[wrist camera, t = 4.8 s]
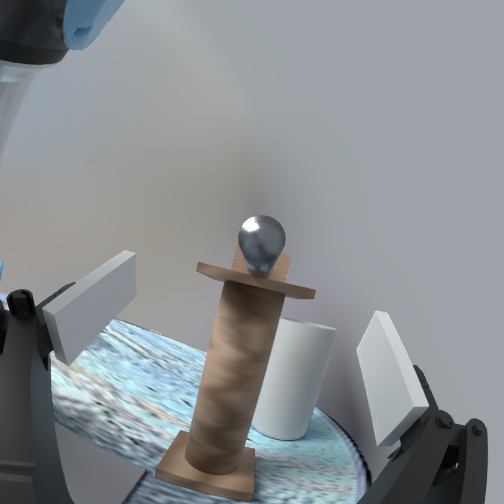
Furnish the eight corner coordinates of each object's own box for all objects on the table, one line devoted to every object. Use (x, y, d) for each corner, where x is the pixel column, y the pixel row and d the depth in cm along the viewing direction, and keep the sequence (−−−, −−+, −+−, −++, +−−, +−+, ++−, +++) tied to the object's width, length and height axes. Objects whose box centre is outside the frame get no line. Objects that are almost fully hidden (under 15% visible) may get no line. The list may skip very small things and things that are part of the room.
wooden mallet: (310, 273, 17) (321, 214, 18) (203, 248, 17) (219, 191, 18) (279, 288, 41) (285, 262, 42) (234, 277, 42) (240, 252, 42)
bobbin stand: (154, 477, 25) (198, 262, 29) (178, 438, 37) (216, 273, 42) (250, 502, 24) (315, 289, 29) (252, 457, 37) (298, 292, 42)
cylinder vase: (284, 415, 59) (310, 322, 63) (316, 437, 48) (348, 331, 52) (240, 416, 54) (267, 314, 58) (268, 444, 42) (303, 324, 46)
